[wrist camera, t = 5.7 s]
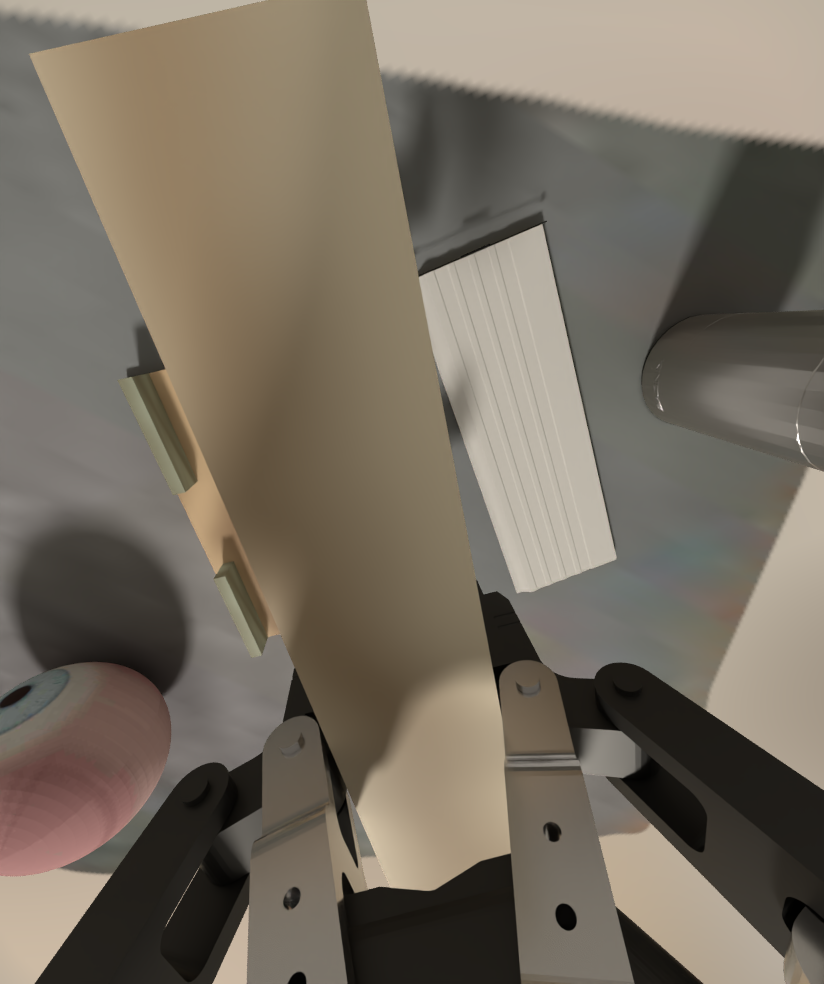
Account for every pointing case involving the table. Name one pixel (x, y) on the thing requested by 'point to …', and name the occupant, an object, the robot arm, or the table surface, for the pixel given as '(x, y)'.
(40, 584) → the table surface
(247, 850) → the robot arm
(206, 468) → the rack
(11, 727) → the eyeball
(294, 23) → the rail
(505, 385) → the baseboard
